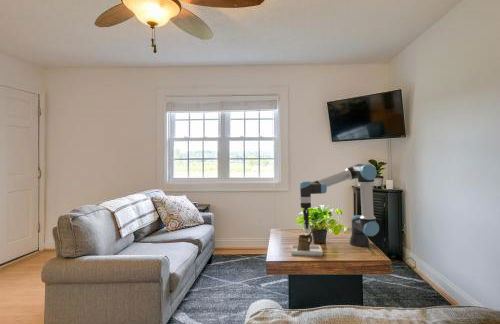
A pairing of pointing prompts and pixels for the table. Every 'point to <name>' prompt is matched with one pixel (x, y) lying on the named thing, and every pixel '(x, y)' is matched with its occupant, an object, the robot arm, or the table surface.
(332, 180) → the robot arm
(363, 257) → the table surface
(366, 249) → the table surface
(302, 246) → the wooden mug
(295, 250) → the tray
